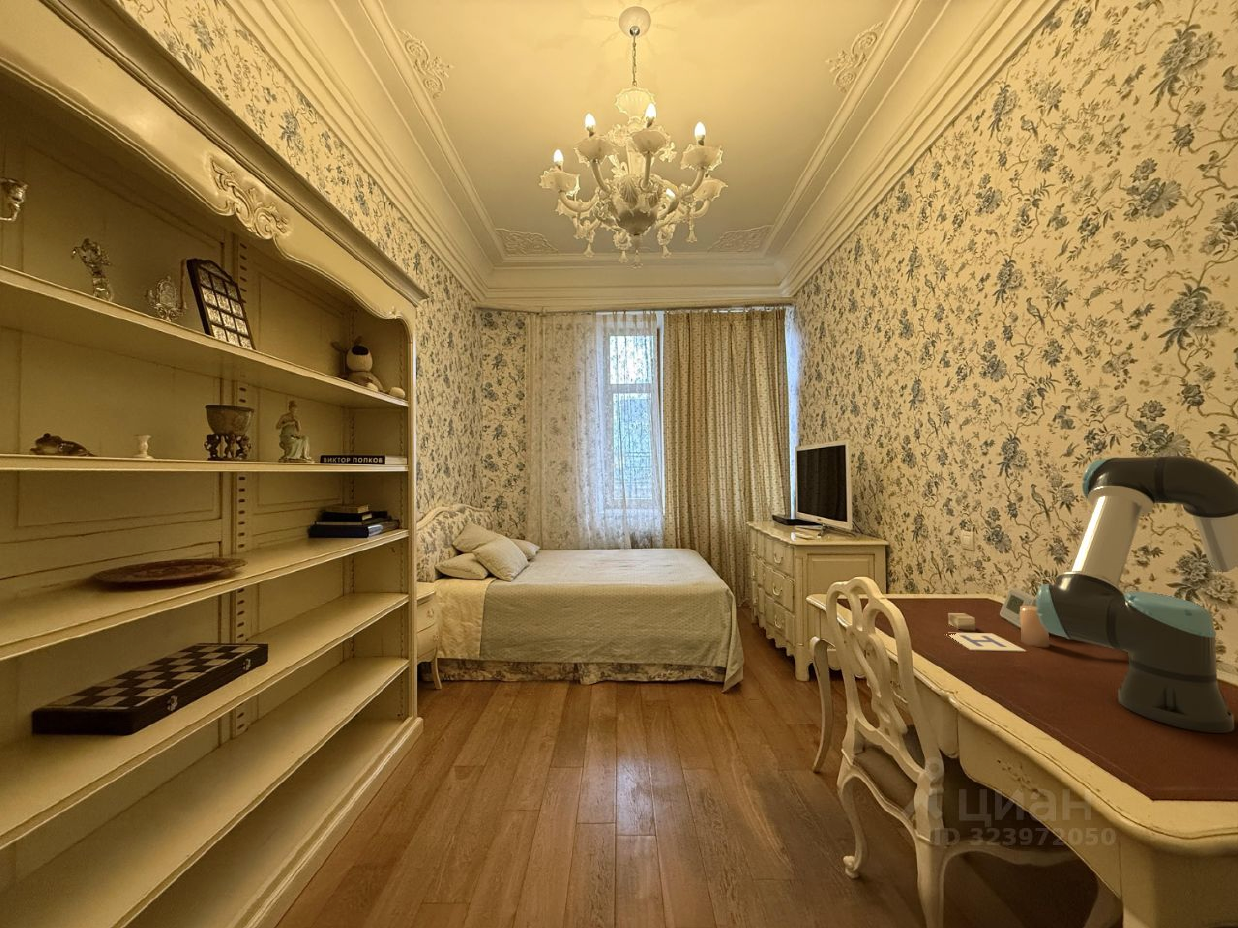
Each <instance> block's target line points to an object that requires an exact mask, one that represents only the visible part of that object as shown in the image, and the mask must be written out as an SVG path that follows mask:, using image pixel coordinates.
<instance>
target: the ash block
mask: <svg viewBox="0 0 1238 928" xmlns="http://www.w3.org/2000/svg"><path fill="white" fill-rule="evenodd" d="M947 617H948V625H949V624H950V625H952V626H954V627H956V628H957V629H974V630H973V631H976V619H975V617H973V616H972V615H969V614H967V613H965V612H959V613H958V612H948V613H947ZM950 625H949V626H950ZM957 629H956V630H957Z"/></svg>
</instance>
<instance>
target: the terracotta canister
mask: <svg viewBox="0 0 1238 928" xmlns="http://www.w3.org/2000/svg"><path fill="white" fill-rule="evenodd" d="M1020 618H1021V629H1020V640H1021V643H1022V644H1025V645H1027V646H1031V647H1036V648H1049V647H1050V632H1048V631H1047V630H1046V629H1045V628H1044V627H1043V626H1042V624H1041V622H1040V619H1039V616H1038V612H1037V607H1035V606H1020Z"/></svg>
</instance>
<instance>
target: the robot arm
mask: <svg viewBox="0 0 1238 928" xmlns="http://www.w3.org/2000/svg"><path fill="white" fill-rule="evenodd" d="M1082 480H1083V481H1082V483H1081V489H1082V492H1083V495H1084V496H1085V498H1086V499H1087V500H1088V502H1089V504H1091V509H1090V512H1089V515H1088V517H1087V520H1086V523H1085V526H1084V528H1083V531H1082V532H1081V533H1082V534H1081V536H1080V539H1079V542H1078V543H1077V547H1076V550H1075V553H1074V555H1073V557H1072V561H1071V562H1070V566H1069V569H1068V571H1066V572H1062V573H1060V574H1058V575H1057V577H1056V578H1055V581H1054V583H1053V584H1051V583H1047V584H1046V583H1043V584H1041V585H1040V586H1039V587H1038V589H1037V593H1036V597H1037V598H1036V605H1037V612H1038V616H1039V619H1040V622H1041V624H1042V626H1043V627H1044V628H1045V629H1046V630H1047V631H1048V632H1049V634H1052V635H1055V636H1060V637H1063V638H1066V639H1067V640H1075V641H1079V642H1083V643H1088V644H1092V645H1095V646H1100V647H1104V648H1110V649H1113V650H1117V651H1121V652H1125V653H1127V654H1128V668H1127V670H1126V673H1125V676H1124V678H1123V681H1122V684H1121V685H1120V686H1119V688H1118V690H1117V692H1118V703H1119V704H1121V705H1122V707H1123V708H1125V709H1127V710H1129V711H1130V712H1133V713H1135V714H1136V715H1139V716H1142V717H1144V718H1147V719H1150V720H1152V721H1154V722H1155V721H1156V722H1159V723H1161V724H1165V725H1169V726H1173V727H1177V728H1181V729H1185V730H1192V731H1197V732H1203V733H1211V734H1224V733H1231V732H1232V731H1234V730H1235V716H1234V714H1233V712H1232V711H1231V710H1230V709H1229V707H1228V703H1227V701H1226V699H1225V697H1224V694H1223V693H1222V691H1221V688H1220V687H1219V685H1218V675H1217V670H1218V669H1217V653H1216V648H1217V647H1216V636H1217V632H1216V630H1215V625H1214V618H1213V615H1212V613H1211V612H1210V611H1209V609H1205V608H1204V607H1202V606H1200V605H1198V604H1195V603H1193V602H1190V601H1187V600H1183V599H1180V598H1176V597H1172V596H1167V595H1163V594H1157V593H1150V592H1147V591H1142V590H1131V591H1130V590H1129V591H1127V592H1126V593H1125V594H1124V592H1123V590H1121V588H1119V584H1120V581H1121V578H1122V576H1123V572H1124V569H1125V566H1126V564H1127V560H1128V558H1129V557H1128V556H1129V553H1130V551H1131V547H1132V544H1133V541H1134V538H1135V535H1136V531H1137V528H1138V526H1139V523H1140V519H1141V517H1142V516H1145V515H1148V514H1150V513H1151V512H1152V511H1153V509H1154V507H1155V505H1156V504H1171V505H1172V504H1178V505H1181V506H1182V508H1183V510H1184V512H1186V513H1187V514H1188V515H1190V516H1192V518H1193V520H1194V523H1195V526H1196V529H1197V532H1198V535H1199V538H1200V540H1201V541H1200V542H1201V544H1202V548H1203V550H1204V552H1205V556H1206V559H1207V562H1208V561H1209V562H1208V564H1209V563H1210V565H1211V567H1212V568H1213V569H1214V570H1216V571H1218V572H1222V573H1223V572H1228V571H1230V570H1232V569H1234V568H1235V567H1237V566H1238V483H1237V482H1236V481H1235V480H1234V478H1232V477H1231V476H1229V475H1228V474H1227V473H1226V472H1224V471H1223V470H1221V469H1220V468H1218V467H1217V466H1215V465H1212V464H1211V463H1208V462H1206V461H1204V460H1202V459H1197V458H1196V457H1195V458H1193V457H1190V456H1189V457H1188V456H1183V455H1170V456H1145V457H1144V456H1142V457H1141V456H1140V457H1135V456H1134V457H1109V458H1100V459H1096V460H1094V461H1092V462H1091V463H1089V465H1087V466H1086V469H1085V470H1084V473H1083V476H1082ZM1210 565H1209V566H1210Z"/></svg>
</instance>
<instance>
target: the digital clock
mask: <svg viewBox="0 0 1238 928" xmlns="http://www.w3.org/2000/svg"><path fill="white" fill-rule="evenodd" d="M1036 598H1037V596H1035V595H1033V594H1031V593H1029V592H1027V591H1024V590H1023V589H1019V588H1017V587H1010V588H1009V590H1008V592H1007V594H1006V597H1005V599H1004V602H1003V604H1002V607H1001V610H1000V612H999V615H1000V617H1002V618H1003V619H1005V621H1006V622H1008V623H1010V624H1011V625H1013V626H1015V627H1017V628H1018V629H1020V630H1021V618H1020V606H1035V607H1037V605H1036Z"/></svg>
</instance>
